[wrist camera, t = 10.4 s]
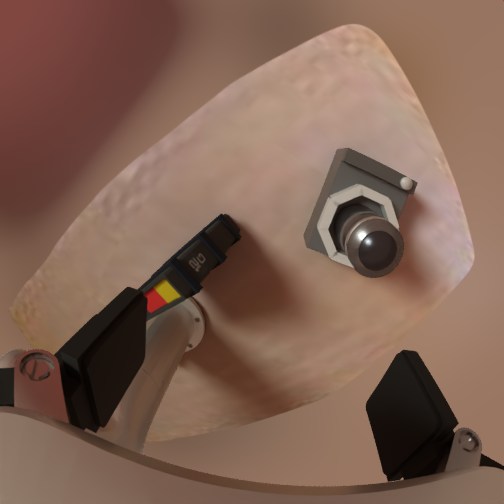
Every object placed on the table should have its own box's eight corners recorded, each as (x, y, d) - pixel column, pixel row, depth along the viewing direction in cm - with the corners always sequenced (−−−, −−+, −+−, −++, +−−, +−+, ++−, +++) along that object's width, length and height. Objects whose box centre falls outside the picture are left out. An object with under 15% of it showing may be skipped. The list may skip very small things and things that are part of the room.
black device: (261, 219, 34) (191, 301, 24) (204, 259, 43) (142, 326, 32) (241, 196, 34) (161, 269, 23) (188, 241, 42) (121, 304, 32)
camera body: (362, 258, 36) (377, 279, 30) (303, 235, 36) (308, 252, 30) (397, 178, 32) (419, 183, 26) (336, 149, 32) (349, 147, 26)
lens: (385, 229, 30) (414, 255, 22) (350, 257, 31) (369, 290, 24) (360, 193, 29) (386, 208, 21) (324, 222, 30) (337, 247, 23)
